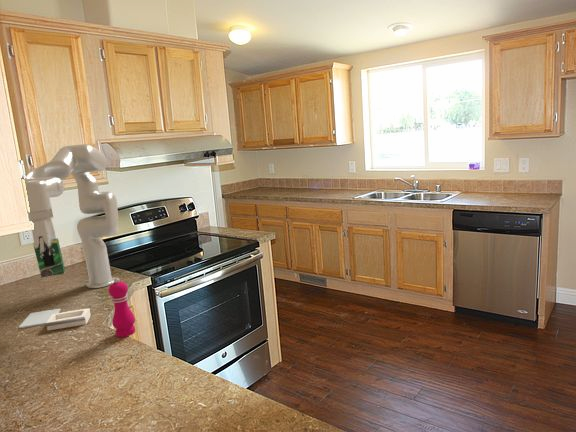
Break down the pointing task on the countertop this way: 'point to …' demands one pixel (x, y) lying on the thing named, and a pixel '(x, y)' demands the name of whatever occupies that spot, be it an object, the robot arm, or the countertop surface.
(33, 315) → the tile
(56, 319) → the caddy
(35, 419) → the countertop surface
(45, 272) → the coffee box
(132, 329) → the pepper mill
